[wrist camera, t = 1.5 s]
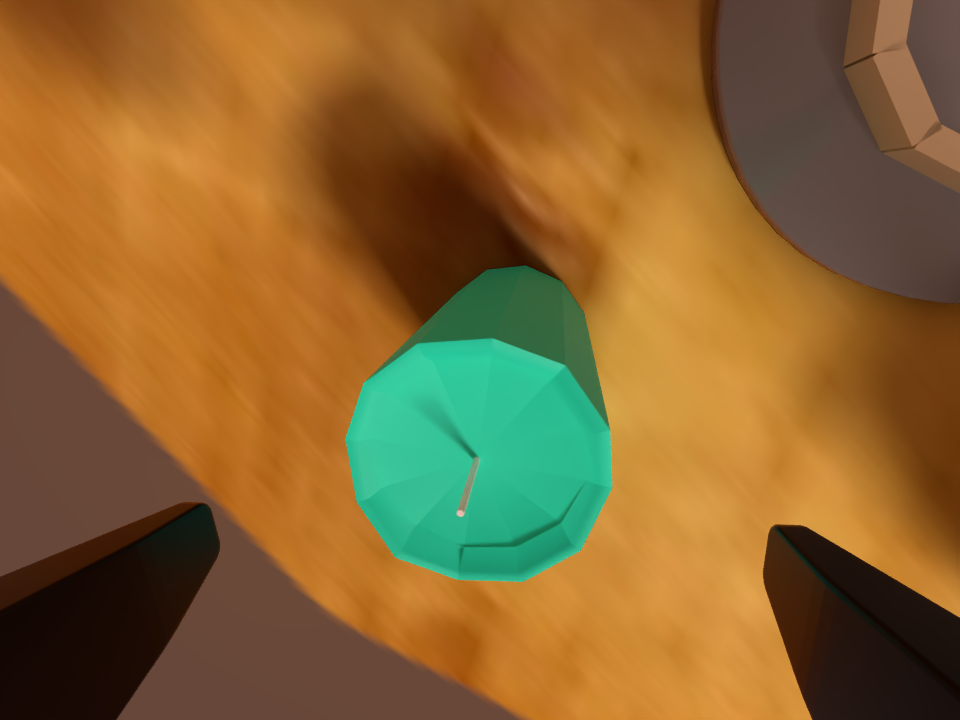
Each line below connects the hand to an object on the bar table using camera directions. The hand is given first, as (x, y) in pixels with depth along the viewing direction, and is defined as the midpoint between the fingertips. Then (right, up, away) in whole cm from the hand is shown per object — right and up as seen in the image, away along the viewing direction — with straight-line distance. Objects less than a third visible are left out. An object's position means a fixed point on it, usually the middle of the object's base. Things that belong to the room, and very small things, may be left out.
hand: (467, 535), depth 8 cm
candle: (+2, +4, +13) cm, 13 cm away
